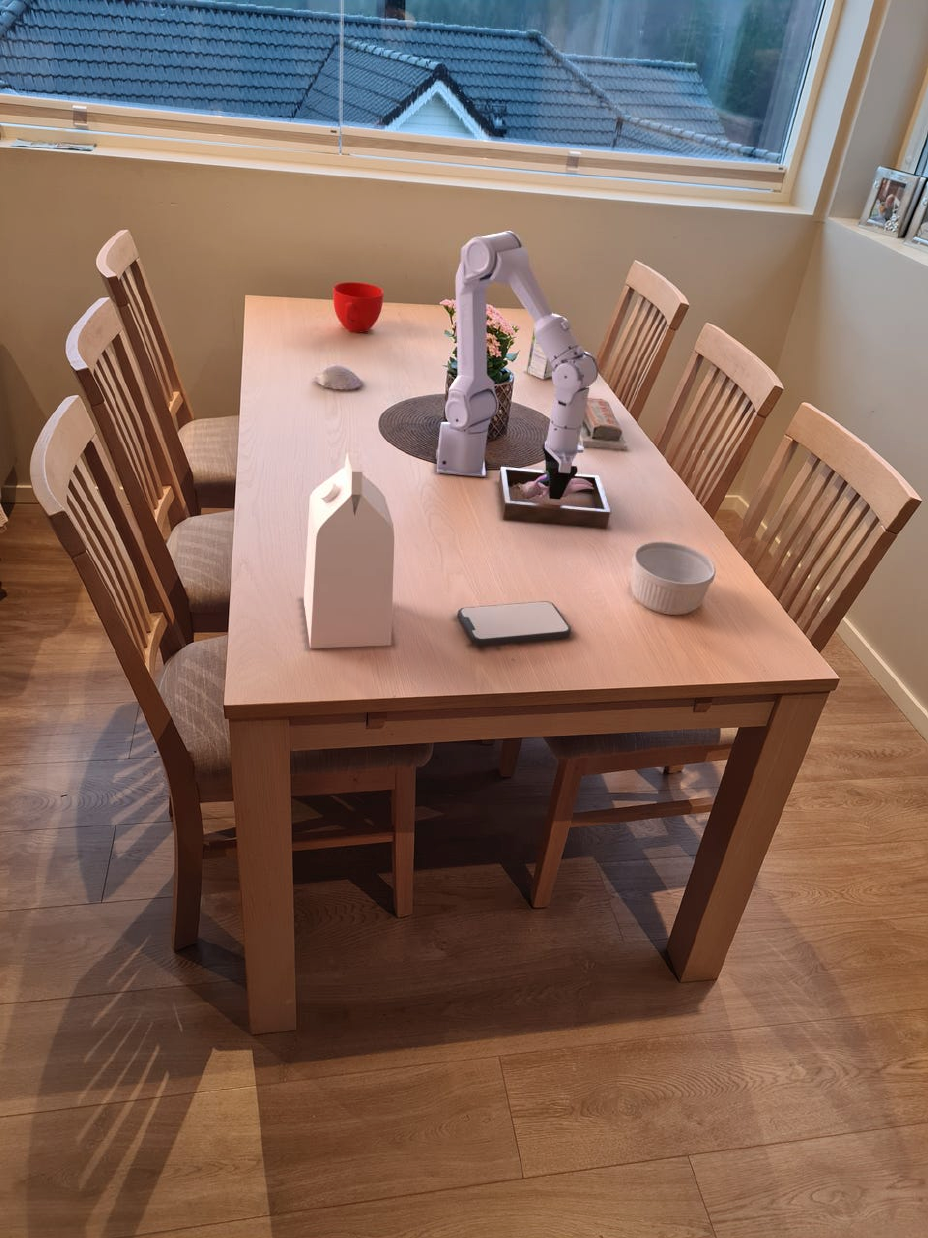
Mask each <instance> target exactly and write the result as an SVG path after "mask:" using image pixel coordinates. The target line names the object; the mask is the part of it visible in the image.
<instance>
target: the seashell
mask: <svg viewBox="0 0 928 1238" xmlns="http://www.w3.org/2000/svg"><path fill="white" fill-rule="evenodd" d="M314 381H315V382H316V383H318V384H319V385H321V386H323V387H325V388H332V389H333V390H340V391H341V390H345V391H348V390H354V389H357V388H360V387H361V386H362V383H361V382H362V381H361V379H360V378H359V377H358V375H357V374H356V373H355V372H353V371H352V370H351V369H349V368H347V367H344V366H342V365H340V364H332V365H328V366H326V367H324V368H323V369H322V370H320V371H319V373H317V374H316V376H315V378H314Z"/></svg>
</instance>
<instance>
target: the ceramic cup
mask: <svg viewBox="0 0 928 1238" xmlns="http://www.w3.org/2000/svg"><path fill="white" fill-rule="evenodd" d="M332 295H333V297H332V298H333V308H334V312H335V315H336V317H337V319H338V320H339V322H340V324H341V325H342V326H343V328H344V330H347V331H349V332H352V333H365V332H368V331H370V329H371V328H372V327H373V326H374V325H375V324H376V323H377V322H378V319H379V317H380V315H381V312H382V308H383V303H384V295H385V294H384V290H383V289H382V288H381V287H380V286H379V287H378V286H376V285H373V284H369V283H366V282H365V283H363V282H351V281H349V282H341V283H337V284H335V285H334V286H333V287H332Z"/></svg>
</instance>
